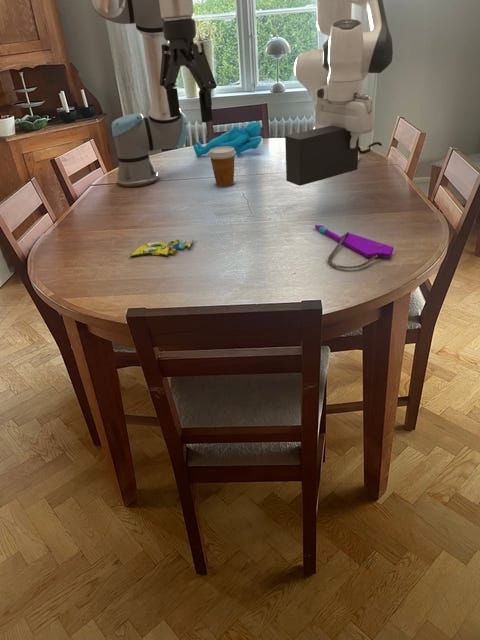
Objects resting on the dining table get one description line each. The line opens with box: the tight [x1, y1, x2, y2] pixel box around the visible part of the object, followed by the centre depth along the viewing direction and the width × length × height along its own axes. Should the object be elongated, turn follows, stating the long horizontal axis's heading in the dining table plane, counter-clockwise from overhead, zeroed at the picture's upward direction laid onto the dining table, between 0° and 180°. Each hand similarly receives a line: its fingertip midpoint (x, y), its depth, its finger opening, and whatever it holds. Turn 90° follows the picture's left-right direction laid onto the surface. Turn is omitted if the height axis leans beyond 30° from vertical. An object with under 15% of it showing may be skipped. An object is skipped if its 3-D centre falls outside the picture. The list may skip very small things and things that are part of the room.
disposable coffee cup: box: [208, 146, 236, 187], centre depth 169 cm, size 10×10×12 cm
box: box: [284, 126, 360, 187], centre depth 133 cm, size 20×6×12 cm, turn 121°
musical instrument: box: [314, 224, 394, 269], centre depth 119 cm, size 24×2×20 cm
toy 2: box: [192, 121, 263, 157], centre depth 205 cm, size 17×11×30 cm
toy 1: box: [130, 238, 194, 258], centre depth 128 cm, size 10×1×15 cm
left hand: (190, 119), depth 120 cm, fingers open, 13 cm apart
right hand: (342, 145), depth 135 cm, fingers closed on box, 6 cm apart
